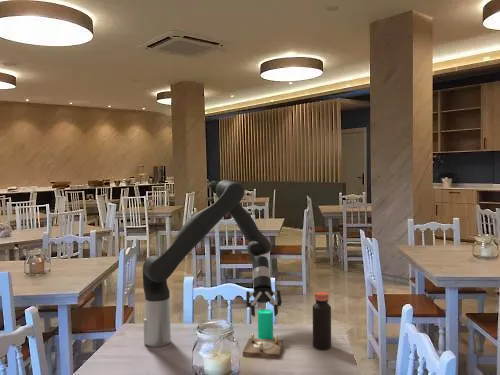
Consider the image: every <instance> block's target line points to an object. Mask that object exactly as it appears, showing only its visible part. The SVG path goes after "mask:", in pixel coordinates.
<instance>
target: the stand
mask: <svg viewBox="0 0 500 375" xmlns="http://www.w3.org/2000/svg"><path fill="white" fill-rule="evenodd" d="M261 342H262V343H263V352H260V343H261ZM283 345H284V339H278V344H275V339H274V338H273V339H258V338H255V337H254V343H251V337H249V338H248V340H247V342H246V344H245V346H244V348H243V351H242V357H254V358H266V359H267V358H269V359H280V356H281V353H282V350H283Z"/></svg>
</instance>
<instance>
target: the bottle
mask: <svg viewBox="0 0 500 375" xmlns="http://www.w3.org/2000/svg"><path fill="white" fill-rule="evenodd" d="M314 300H315V303H314V304H312V347H313V348H314V349H316V350H319V351H327V350H329V349H331V347H332V307H331V305H330V304H329V303H328V302H329V293H328V292H325V291H317V292H315V293H314Z"/></svg>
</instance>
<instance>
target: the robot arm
mask: <svg viewBox="0 0 500 375" xmlns="http://www.w3.org/2000/svg"><path fill="white" fill-rule="evenodd" d="M215 195H216V197H217V198H218V199H216V201H215V202H214V203H213V204H211V205H210V206H207V207H206V208H204V209H202V210H200V211H198V212H196V213H195V214H194V215H192V216H191V217H190V218H189V219H188V220H186V222H185V223H184V224H183V225H182V226H181V228H180V229H179V231H178V233H177V235H175V239H174V240H173V242H172V243H171V245H170V246H169V247H168V248H167V249H166V250H165V251H164V252H163V253H161V255H155V254H154V255H150V256H148V257H147V258H146V260H145V261H144V262H143V266H142V285H143V286H142V288H143V291H144V299H145V300H144V302H145V304H144V305H145V318H144V319H143V344H144V345H146V346H148V347H153V348H154V347H156V348H157V347H163V346H167V345H169V344H170V343H171V300H170V299H171V298H170V297H171V296H170V294H171V292H170V289H169V287H168V282H167V280H168V279H169V278H170V277H171V276H172V274H173V273H174V272H175V270H177V268H178V266H179V265H180V264H181V262H182V261H183V260H184V259H185V258H186V257H187V256H188V255H189V254H190V253H191V251H192V250H194V248H196V246H198V245H199V243H200V242H202V240H203V239H205V237H206V236H207V235H208V234H209V233H210V231H211V230H212V229H213V228H214V227H215V226H216V225H218V223H219V222H220V221H221V220H222V219H223V218H224V217H225V216H226V215H227V214H228V213H229V214H230V215H231V217H232V218H233V219H234V221H235V223H236V224H237V227H238V228H239V230H240V232H241V234H242V235H243V237H244V239H245V240H246V242H248V244H247V245H246V249H247V250H246V251H247V253H248V255H249V257H250V260H251V264H252V284H253V285H252V286H253V289H252V290H253V292H252V291H251V292H250V291H249V290H248V291H246V293H245V294H246V296H245V306H246V308H250V315H251V316H252V317H253V318H255V317H256V310H255V308H256V307H255V306H257V305H258V303H260V304H263V303H265V304H268V303H269V305H272V306H273V317H277V315H278V314H279V309H278V307H281V306H282V303H283V301H282V296H281V291H280V290H277V291H273V290H272V278H271V272H270V266H269V263H270V262H269V260H268V258H267V257H266V256H264V255H266V254H270V252H271V251H272V244H271V241H270V240H269V239H268V238H267V237H266V236H265V235H264V234H263V233H262V232H261V231H260V230H259V228H258V226H257V223H256V222H255V221H254V218H253V217H252V216H251V215H250V214H249V212H248V211H247V210H246V209H245V208H244V206H242V204H241V201H242V200H243V198H244V197H245V188H244V186H243V185H242V184H241V183H239V182H237V181H232V180H229V179H228V180H227V179H223V180H220V181H219V182H218V183H217V185H216V187H215ZM252 296H253V300H252V302H250V299H251V298H252ZM273 296H274V297H275V298H276V300H277V301H276V300H275V299H274V297H273Z"/></svg>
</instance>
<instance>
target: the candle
mask: <svg viewBox="0 0 500 375" xmlns="http://www.w3.org/2000/svg"><path fill="white" fill-rule="evenodd" d="M257 339H273V340H274V310H272V309H266V308H262V309H259V310H258V311H257Z"/></svg>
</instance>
